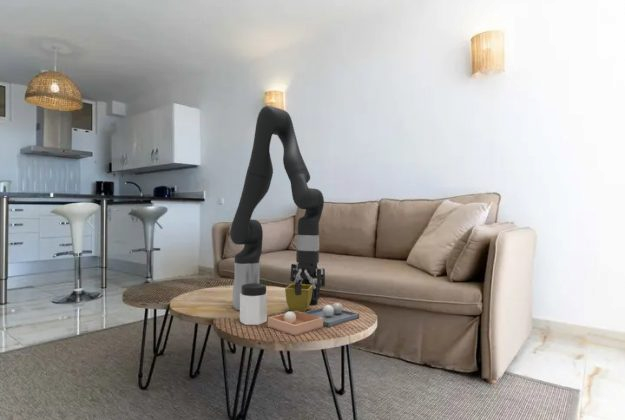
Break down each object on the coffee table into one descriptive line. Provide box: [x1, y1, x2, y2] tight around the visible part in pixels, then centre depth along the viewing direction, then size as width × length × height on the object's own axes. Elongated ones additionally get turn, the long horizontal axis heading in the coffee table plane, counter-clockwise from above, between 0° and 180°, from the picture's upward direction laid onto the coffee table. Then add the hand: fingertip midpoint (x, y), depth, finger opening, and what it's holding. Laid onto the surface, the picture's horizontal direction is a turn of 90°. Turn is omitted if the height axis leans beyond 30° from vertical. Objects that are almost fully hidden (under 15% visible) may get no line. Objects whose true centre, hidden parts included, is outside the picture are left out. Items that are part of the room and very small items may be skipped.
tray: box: [303, 307, 360, 328], centre depth 137 cm, size 14×16×2 cm
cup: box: [301, 278, 319, 306], centre depth 158 cm, size 8×8×12 cm
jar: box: [239, 283, 268, 326], centre depth 131 cm, size 9×8×12 cm
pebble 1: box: [322, 304, 334, 317], centre depth 137 cm, size 4×4×4 cm
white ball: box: [284, 310, 296, 324], centre depth 128 cm, size 4×4×4 cm
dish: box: [267, 311, 324, 337], centre depth 126 cm, size 12×12×3 cm
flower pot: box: [284, 283, 313, 312], centre depth 146 cm, size 9×9×9 cm
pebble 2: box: [331, 302, 344, 314], centre depth 140 cm, size 4×4×4 cm
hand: (306, 297), depth 131 cm, fingers open, 8 cm apart
